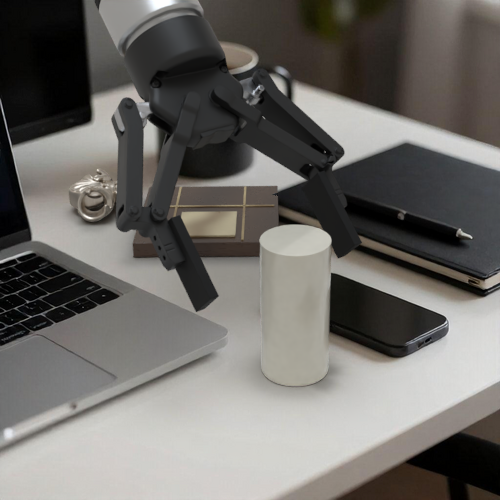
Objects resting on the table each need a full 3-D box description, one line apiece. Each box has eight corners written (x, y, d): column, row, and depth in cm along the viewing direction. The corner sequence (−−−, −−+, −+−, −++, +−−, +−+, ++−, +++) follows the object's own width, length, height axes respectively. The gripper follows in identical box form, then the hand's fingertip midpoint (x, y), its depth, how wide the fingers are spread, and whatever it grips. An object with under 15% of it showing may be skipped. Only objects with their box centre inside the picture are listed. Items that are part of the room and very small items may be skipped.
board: (277, 198, 101) (277, 183, 100) (279, 256, 88) (279, 240, 88) (149, 199, 101) (148, 185, 101) (133, 257, 89) (132, 241, 88)
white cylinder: (326, 348, 74) (329, 223, 69) (330, 386, 69) (333, 255, 64) (261, 349, 74) (259, 224, 69) (260, 386, 69) (259, 256, 64)
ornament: (136, 221, 96) (134, 189, 94) (69, 226, 95) (65, 194, 94) (133, 192, 103) (131, 161, 102) (71, 196, 102) (68, 165, 101)
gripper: (268, 41, 83) (377, 249, 79) (6, 93, 70) (121, 346, 66) (306, -11, 77) (427, 212, 73) (28, 36, 63) (156, 312, 59)
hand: (282, 276), depth 69 cm, fingers open, 13 cm apart
